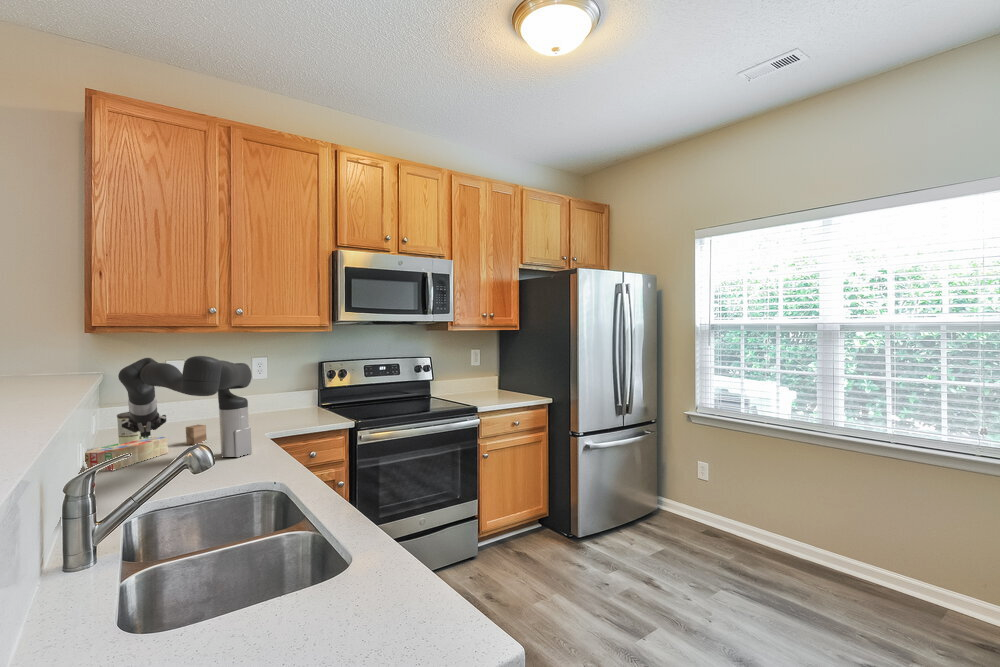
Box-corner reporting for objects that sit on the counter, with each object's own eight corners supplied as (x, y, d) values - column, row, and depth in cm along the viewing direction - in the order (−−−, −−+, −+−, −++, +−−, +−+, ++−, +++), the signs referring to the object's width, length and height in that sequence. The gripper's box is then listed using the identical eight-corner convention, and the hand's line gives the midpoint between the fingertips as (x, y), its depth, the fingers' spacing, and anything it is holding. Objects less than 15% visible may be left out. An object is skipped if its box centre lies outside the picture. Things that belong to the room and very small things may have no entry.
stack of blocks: (168, 453, 184) (141, 453, 186) (167, 436, 183) (140, 436, 186) (112, 471, 163) (83, 471, 165) (111, 452, 162) (81, 452, 165)
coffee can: (122, 447, 195) (120, 412, 194) (153, 443, 199) (152, 409, 199) (115, 453, 185) (113, 416, 185) (148, 449, 190) (146, 413, 189)
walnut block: (206, 442, 199) (205, 425, 199) (194, 445, 194) (193, 427, 194) (198, 441, 201) (198, 424, 201) (186, 444, 197) (185, 427, 196)
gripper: (117, 417, 156) (122, 448, 167) (167, 411, 164) (169, 441, 174) (117, 398, 160) (122, 429, 171) (166, 394, 168) (168, 424, 178)
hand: (145, 435), depth 173 cm, fingers closed
